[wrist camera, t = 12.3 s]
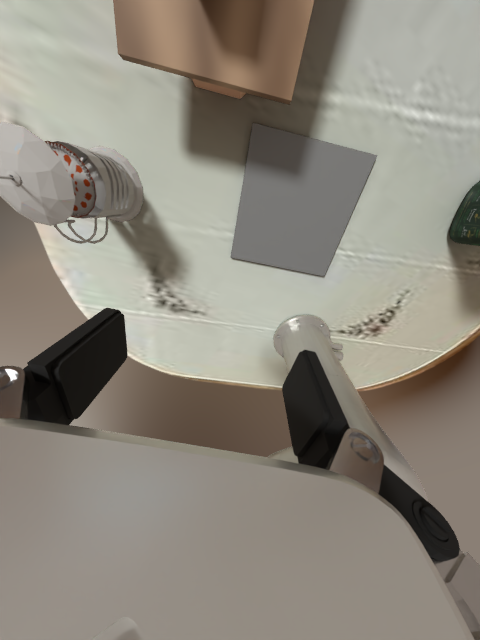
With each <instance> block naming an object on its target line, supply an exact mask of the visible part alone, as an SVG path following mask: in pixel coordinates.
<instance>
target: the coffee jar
mask: <svg viewBox="0 0 480 640" xmlns="http://www.w3.org/2000/svg"><path fill="white" fill-rule="evenodd" d="M450 237H451V239H452V240H453V241H455V242H457V243H462V244H469V245H479V246H480V181H479V182H478V183H477V184H475V185H474V186H473V187H472V188H471V189H470V191H469V192H468V193H467V195H466V197H465V198H464V200H463V202H462V204H461V205H460V207H459V209H458V212H457V214H456V216H455V218H454V221H453V223H452V226H451V229H450Z"/></svg>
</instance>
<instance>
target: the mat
mask: <svg viewBox="0 0 480 640" xmlns="http://www.w3.org/2000/svg"><path fill="white" fill-rule="evenodd" d="M376 157H377V155H373V154H370V153H366V152H362V151H358V150H355V149H351V148H347V147H343V146H339V145H336V144H332V143H328V142H324V141H321V140H317V139H313V138H309V137H305V136H302V135H298V134H294V133H290V132H286V131H283V130H279V129H275V128H271V127H268V126H264V125H260V124H256V123H253V125H252V131H251V137H250V143H249V149H248V155H247V161H246V167H245V173H244V179H243V185H242V191H241V197H240V204H239V210H238V216H237V222H236V228H235V234H234V240H233V246H232V252H231V258H236V259H241V260H246V261H251V262H256V263H261V264H266V265H271V266H275V267H280V268H285V269H290V270H295V271H300V272H305V273H310V274H315V275H320V276H325V273H326V271H327V269H328V267H329V264H330V262H331V260H332V257H333V255H334V253H335V251H336V248H337V246H338V244H339V241H340V239H341V237H342V235H343V232H344V230H345V228H346V226H347V223H348V221H349V219H350V216H351V214H352V212H353V210H354V207H355V205H356V203H357V200H358V198H359V196H360V194H361V191H362V189H363V187H364V184H365V182H366V180H367V178H368V175H369V173H370V171H371V169H372V166H373V164H374V162H375V159H376Z"/></svg>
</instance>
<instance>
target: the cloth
mask: <svg viewBox="0 0 480 640" xmlns="http://www.w3.org/2000/svg"><path fill="white" fill-rule="evenodd" d="M113 3H114V14H115V25H116V36H117V47H118V54H119V55H120V56H121V57H122V59H123V60H126V61H130V62H133V63H137V64H141V65H144V66H148V67H152V68H155V69H159V70H163V71H167V72H170V73H174V74H178V75H181V76H185V77H189V78H192V79H196V80H200V81H203V82H207V83H211V84H215V85H218V86H222V87H226V88H229V89H233V90H237V91H240V92H244V93H248V94H251V95H255V96H259V97H262V98H266V99H270V100H274V101H277V102H281V103H285V104H288V105H290V103H291V100H292V96H293V91H294V87H295V83H296V78H297V74H298V70H299V65H300V61H301V56H302V52H303V48H304V43H305V39H306V35H307V30H308V26H309V21H310V17H311V13H312V8H313V4H314V0H113Z"/></svg>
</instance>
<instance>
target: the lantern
mask: <svg viewBox="0 0 480 640" xmlns="http://www.w3.org/2000/svg"><path fill="white" fill-rule="evenodd" d="M0 196H1V197H2V198H3V199H4V200H5V201H6V202H7V203H8V204H9V205H10V206H11V207H12V208H13V209H15V210H16V211H17V212H18V213H20V214H21V215H23V216H25V217H27V218H28V219H30V220H32V221H34V222H36V223H41V224H46V225H50V226H51V225H54V227H55V228H56V229H57V230H58V231H59V232H60V234H61V235H62V236H64V237H65V238H67V239H68V240H70V241H73V242H76V243H85V242H89V243H94V244H95V243H98V242H100V241H102V240H103V239H104V238H105V237H106V235H107V232H108V219H110V220H115V221H119V222H123V221H128V220H132V219H133V218H134V217H135V216H136V215H137V214H138V213H139V212H140V210H141V207H142V204H143V187H142V184H141V181H140V179H139V176H138V173H137V172H136V170H135V169H134V168H133V166H132V165H131V163H130V162H129V161H128V159H127V158H125V157H124V156H122V155H121V154H120V153H118V152H117V151H116V150H114V149H111V148H107V147H103V146H97V147H94V148H90V149H85V148H82V147H78V146H75V145H72V144H69V143H65V142H59V141H56V142H50V141H43V140H42V139H40V138H39V137H38V136H36V135H35V134H33V133H32V132H30V131H29V130H28V129H26V128H24V127H22V126H18V125H14V124H10V123H6V122H1V123H0ZM70 216H71V217H75V218H91V217H93V218H95V229H94V234H93V235H92V236H91V237H90V238H89V239H87V240H85V239H84V238H82V237H81V236H79V235H78V234H77V233H76V232H75V231H74V229H73V228H72V227H71V223H74V222H75V220H66V219H67V218H69V217H70ZM101 217H106V231H105V235H104V236H103V237H102V238H101V239H100V240H97V241H90V240H91V239H92V238H93V237H94V236H95V235H96V230H97V218H101ZM63 222H68V226H69V228H70V229H71V230H72V232H73V233H74V234H75V235H76V236H77V237H79V238H80V239H82V240H83V241H76V240H74V239H71V238H69V237H68V236H66V235H65V234H63V233H62V232H61V231H60V229H59V228H58V227H57V224H59V223H63Z"/></svg>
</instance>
